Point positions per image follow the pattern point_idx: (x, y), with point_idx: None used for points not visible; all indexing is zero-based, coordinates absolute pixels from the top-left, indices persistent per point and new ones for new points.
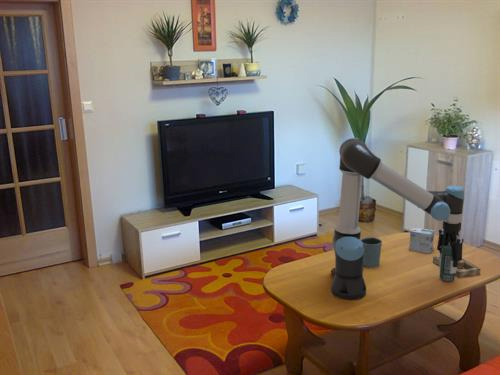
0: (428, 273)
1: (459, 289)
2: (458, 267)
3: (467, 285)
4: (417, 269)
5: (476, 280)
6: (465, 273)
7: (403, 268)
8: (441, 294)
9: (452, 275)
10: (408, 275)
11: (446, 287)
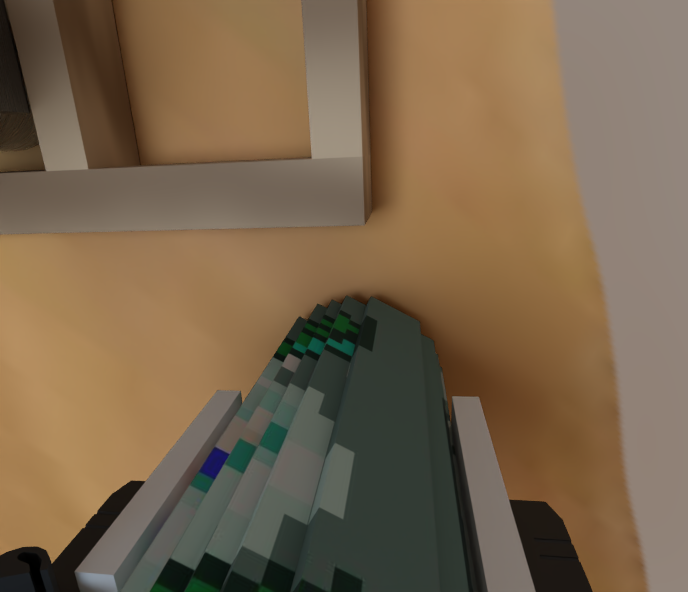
0: (176, 425)
1: (610, 387)
2: (105, 22)
3: (572, 240)
4: (77, 458)
5: (506, 21)
6: (363, 110)
7: (45, 541)
8: (609, 587)
9: (447, 405)
10: None
11: (509, 468)
